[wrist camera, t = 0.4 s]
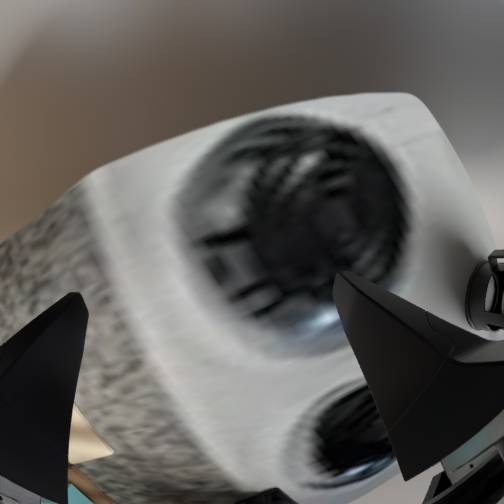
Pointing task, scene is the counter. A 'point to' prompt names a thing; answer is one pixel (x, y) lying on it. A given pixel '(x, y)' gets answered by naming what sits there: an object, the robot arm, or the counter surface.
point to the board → (85, 440)
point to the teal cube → (72, 497)
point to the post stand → (87, 486)
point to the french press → (476, 293)
